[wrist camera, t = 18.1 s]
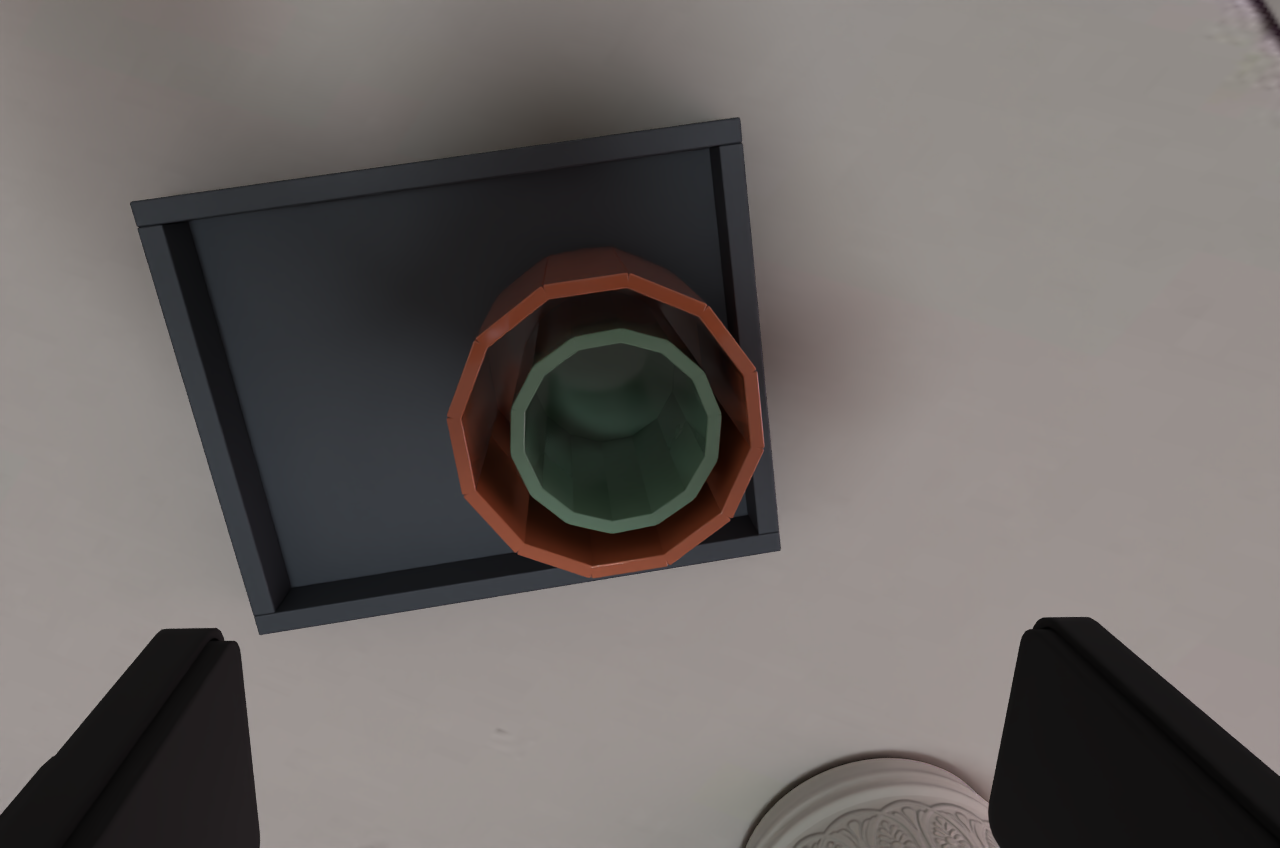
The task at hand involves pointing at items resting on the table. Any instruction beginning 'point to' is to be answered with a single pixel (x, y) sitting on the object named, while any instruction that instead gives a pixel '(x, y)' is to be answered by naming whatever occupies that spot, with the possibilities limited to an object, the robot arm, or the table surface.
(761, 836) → the jar
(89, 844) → the robot arm
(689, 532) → the terracotta cup
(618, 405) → the sage cup
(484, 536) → the tray
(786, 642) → the table surface
